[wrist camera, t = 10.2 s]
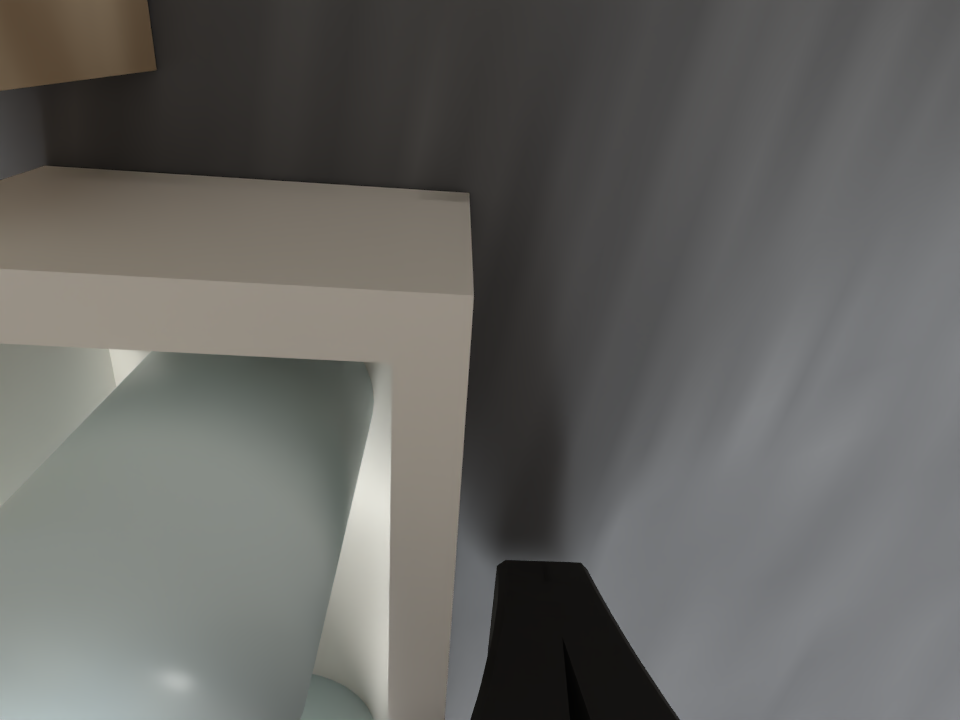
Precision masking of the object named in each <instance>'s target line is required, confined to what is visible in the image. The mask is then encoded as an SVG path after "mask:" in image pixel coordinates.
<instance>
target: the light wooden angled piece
mask: <svg viewBox="0 0 960 720" xmlns="http://www.w3.org/2000/svg"><path fill="white" fill-rule="evenodd" d="M154 70H157V68H156V61H155V54H154V46H153V39H152V31H151V24H150V17H149V9H148V2H147V0H0V91H2V90H10V89H17V88H25V87H33V86H40V85H48V84H55V83H63V82H71V81H78V80H86V79H94V78H101V77H109V76H116V75H124V74H132V73H139V72H147V71H154Z"/></svg>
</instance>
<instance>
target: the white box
mask: <svg viewBox="0 0 960 720" xmlns="http://www.w3.org/2000/svg"><path fill="white" fill-rule="evenodd" d="M473 302H474V286H473V264H472V242H471V219H470V197H469V193H462V192H447V191H431V190H416V189H400V188H384V187H369V186H353V185H338V184H322V183H307V182H291V181H276V180H260V179H245V178H229V177H213V176H198V175H182V174H167V173H151V172H136V171H120V170H105V169H89V168H74V167H58V166H42V167H39V168H36V169H33V170H30V171H27V172H24V173H21V174H18V175H15V176H12V177H8V178H5V179H2V180H0V720H445V706H446V692H447V677H448V663H449V648H450V634H451V620H452V605H453V591H454V576H455V562H456V547H457V533H458V519H459V504H460V490H461V475H462V461H463V446H464V432H465V417H466V403H467V389H468V374H469V360H470V345H471V331H472V316H473Z"/></svg>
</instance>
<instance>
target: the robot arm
mask: <svg viewBox="0 0 960 720" xmlns="http://www.w3.org/2000/svg"><path fill="white" fill-rule="evenodd" d="M471 720H680V719H679V718H678V716H677V715H676V714H675V712H674V711H673V709H672V708H671V706H670V705H669V704H668V702H667V701H666V699H665V698H664V696H663V695H662V693H661V692H660V690H659V689H658V687H657V686H656V684H655V682H654V681H653V679H652V678H651V676H650V675H649V673H648V672H647V670H646V669H645V667H644V666H643V664H642V663H641V661H640V660H639V658H638V657H637V655H636V653H635V652H634V650H633V649H632V647H631V645H630V644H629V642H628V641H627V639H626V637H625V636H624V634H623V632H622V631H621V629H620V627H619V626H618V624H617V622H616V621H615V619H614V617H613V616H612V614H611V612H610V610H609V609H608V607H607V605H606V603H605V602H604V600H603V598H602V596H601V595H600V593H599V591H598V589H597V587H596V585H595V584H594V582H593V580H592V578H591V576H590V574H589V572H588V570H587V569H586V568H585V567H584V566H583V565H582V563H574V562H545V561H516V560H505V561H504V562H502V563H501V564H499V565H498V566H497V571H496V581H495V590H494V599H493V609H492V618H491V628H490V637H489V646H488V657H487V661H486V665H485V670H484V674H483V678H482V682H481V686H480V690H479V694H478V697H477V701H476V704H475V707H474V710H473V713H472V717H471Z"/></svg>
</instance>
